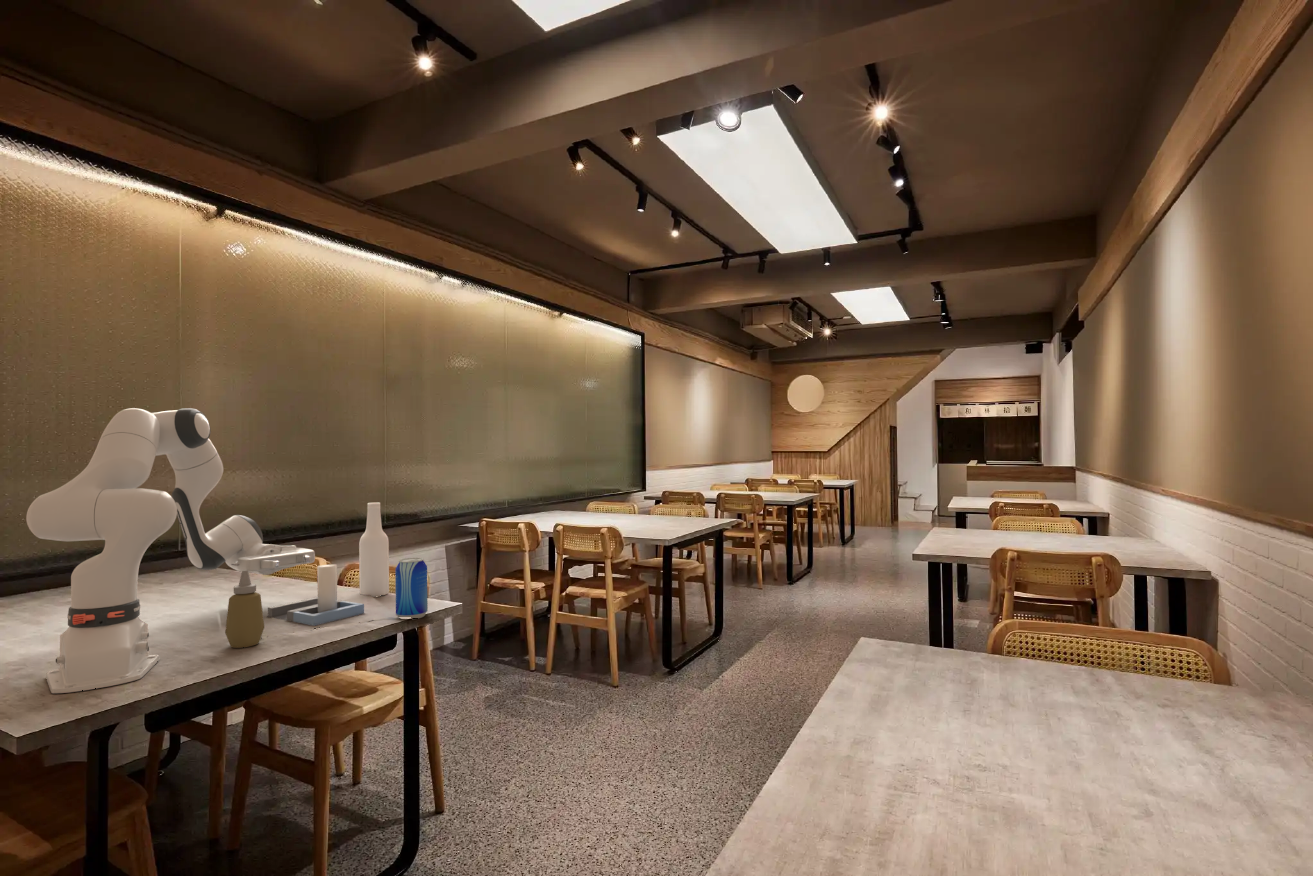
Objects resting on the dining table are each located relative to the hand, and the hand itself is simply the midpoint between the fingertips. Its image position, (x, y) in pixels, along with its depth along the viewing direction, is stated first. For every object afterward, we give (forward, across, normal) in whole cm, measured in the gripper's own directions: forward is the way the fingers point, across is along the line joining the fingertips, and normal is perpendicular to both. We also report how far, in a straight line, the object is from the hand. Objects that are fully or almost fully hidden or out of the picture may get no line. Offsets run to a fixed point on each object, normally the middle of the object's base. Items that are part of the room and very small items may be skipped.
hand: (292, 561), depth 188 cm
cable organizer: (+8, +2, +16) cm, 18 cm away
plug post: (+14, +2, +14) cm, 20 cm away
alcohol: (-3, +29, +15) cm, 33 cm away
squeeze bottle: (+17, -22, +16) cm, 32 cm away
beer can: (+31, +15, +16) cm, 38 cm away
